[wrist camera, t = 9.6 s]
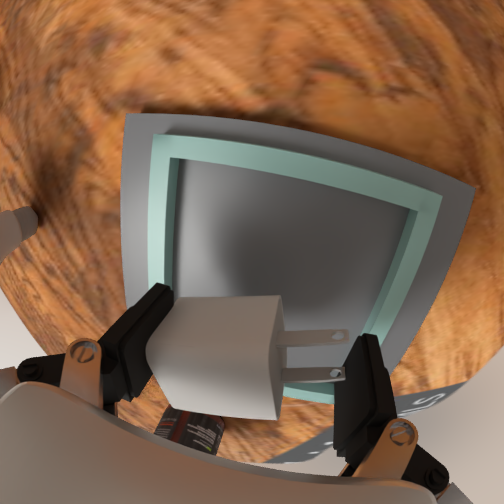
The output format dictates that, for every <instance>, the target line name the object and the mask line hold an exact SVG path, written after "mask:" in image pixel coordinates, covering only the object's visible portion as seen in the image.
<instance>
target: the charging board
mask: <svg viewBox="0 0 504 504" xmlns="http://www.w3.org/2000/svg"><path fill="white" fill-rule="evenodd" d="M475 190H476V188H474V187H472V186H470V185H468V184H466V183H464V182H462V181H460V180H457V179H455V178H453V177H451V176H448V175H446V174H444V173H441V172H439V171H436V170H434V169H431V168H429V167H426V166H424V165H421V164H419V163H416V162H413V161H410V160H408V159H405V158H402V157H399V156H396V155H393V154H390V153H387V152H384V151H381V150H378V149H375V148H371V147H368V146H364V145H361V144H357V143H354V142H350V141H347V140H343V139H339V138H335V137H331V136H327V135H322V134H318V133H314V132H309V131H304V130H299V129H294V128H289V127H284V126H278V125H272V124H266V123H260V122H253V121H246V120H238V119H230V118H221V117H210V116H198V115H182V114H151V113H134V114H126V119H125V128H124V138H123V151H122V167H121V204H120V210H121V247H122V264H123V276H124V287H125V296H126V305H127V310H128V309H129V308H130V307H131V306H134V305H135V304H136V303H137V302H138V301H139V300H140V299H141V298H142V297H143V296H144V295H145V294H146V293H147V292H148V291H149V290H150V289H151V288H152V287H153V286H154V285H155V284H156V283H157V282H158V283H162V284H165V285H168V286H170V288H171V290H173V291H174V303H175V302H176V300H177V299H178V298H179V297H235V296H270V295H280V296H281V299H282V307H283V316H284V325H285V331H300V330H322V329H347V330H348V332H349V339H350V342H349V343H345V344H336V345H327V346H307V347H287V368H307V367H342V365H343V364H344V362H345V360H346V358H347V356H348V354H349V352H350V350H351V348H352V346H353V344H354V342H355V340H356V338H357V337H358V336H359V335H360V336H362V334H363V333H368V334H374V335H377V337H378V341H379V345H380V349H381V353H382V357H383V362H384V366H385V367H386V368H387V369H388V372H389V376H390V375H391V373H392V372H393V370H394V369H395V367H396V366H397V364H398V363H399V361H400V360H401V358H402V357H403V355H404V353H405V352H406V350H407V349H408V347H409V345H410V344H411V342H412V340H413V339H414V337H415V335H416V334H417V332H418V330H419V328H420V327H421V325H422V323H423V321H424V319H425V317H426V316H427V314H428V312H429V310H430V308H431V306H432V304H433V302H434V300H435V298H436V296H437V294H438V292H439V290H440V288H441V285H442V283H443V281H444V279H445V276H446V274H447V272H448V270H449V267H450V265H451V262H452V260H453V257H454V255H455V252H456V250H457V247H458V245H459V242H460V239H461V236H462V233H463V230H464V228H465V225H466V221H467V218H468V215H469V212H470V208H471V205H472V202H473V198H474V194H475ZM343 337H344V336H343V335H341V334H335V335H333V336H332V338H333V339H336V340H339V339H342V338H343ZM338 373H339V371H333V372H331V373H330V375H331V376H332V377H336V376H337V374H338ZM334 382H335V381H332V382H321V383H285V384H284V391H283V396H286V397H291V398H296V399H302V400H308V401H314V402H321V403H327V404H334Z"/></svg>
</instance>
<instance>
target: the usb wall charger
mask: <svg viewBox="0 0 504 504" xmlns="http://www.w3.org/2000/svg"><path fill="white" fill-rule="evenodd" d="M335 334H341V335H343V336H344V337H343V338H342V339H339V340H336V339H333V338H332V336H333V335H335ZM349 342H350V339H349V332H348V330H347V329H322V330H300V331H285V325H284V316H283V307H282V299H281V296H280V295H270V296H235V297H179V298H178V299H177V300H176V302H175V303H174V306H173V308H172V309H171V310H170V312H169V313H168V314H167V316H166V317H165V318H164V319H163V321H162V322H161V323H160V325H159V326H158V327H157V329H156V330H155V331H154V333H153V334H152V335H151V337H150V338H149V340H148V342H147V345H146V359H147V362H148V364H149V366H150V368H151V370H152V372H153V374H154V376H155V378H156V380H157V381H158V383H159V385H160V387H161V389H162V390H163V392H164V394H165V396H166V397H167V399H168V401H169V403H170V404H171V406H172V407H173V408H175V409H180V410H186V411H192V412H198V413H204V414H211V415H219V416H227V417H237V418H248V419H263V420H278V419H279V416H280V411H281V404H282V398H283V391H284V384H285V383H321V382H332V381H341V380H345V378H346V377H345V367H307V368H287V347H307V346H327V345H336V344H345V343H349ZM333 371H339V372H340V373H341V375H340V376H339V377H332V376H331V375H330V373H331V372H333Z"/></svg>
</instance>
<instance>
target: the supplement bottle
mask: <svg viewBox="0 0 504 504" xmlns="http://www.w3.org/2000/svg"><path fill="white" fill-rule="evenodd" d="M224 428H225V425H224V422H223V420H222V419H221V417H220V416H219V415H211V414H204V413H198V412H192V411H186V410H180V409H175V408H173V407H172V406H171V404H169V405H168V407H167V408H166V410H165V412H164V414H163V416H162V418H161V420H160V422H159V424H158V426H157V428H156V430H155V432H154V434H155V435H157V436H159V437H162V438H165V439H167V440H170V441H172V442H175V443H178V444H180V445H183V446H186V447H189V448H192V449H195V450H198V451H201V452H204V453H208V454H211V455H214V456H216V454H217V450H218V448H219V444H220V442H221V438H222V435H223V432H224Z"/></svg>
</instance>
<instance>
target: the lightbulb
mask: <svg viewBox="0 0 504 504" xmlns="http://www.w3.org/2000/svg"><path fill="white" fill-rule="evenodd" d="M37 228H38V216H37V214H36V213H35V212H34V210H33V209H32V208H31V207H29V206H25V207H22V208H19V209H16V210H14V211H10V210H6V211H3V212H1V213H0V264H1V263H2V262H3V260H4V259H5V258H6V256H7V255H9V254H10V253H11V252H12V251H13V250H15V249H16V248H18V247H19V246H20V244H21V242H23V241H24V240H26V239H28V238H29V237H31V236H32V235H34V234H35V233H36V231H37Z"/></svg>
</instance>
